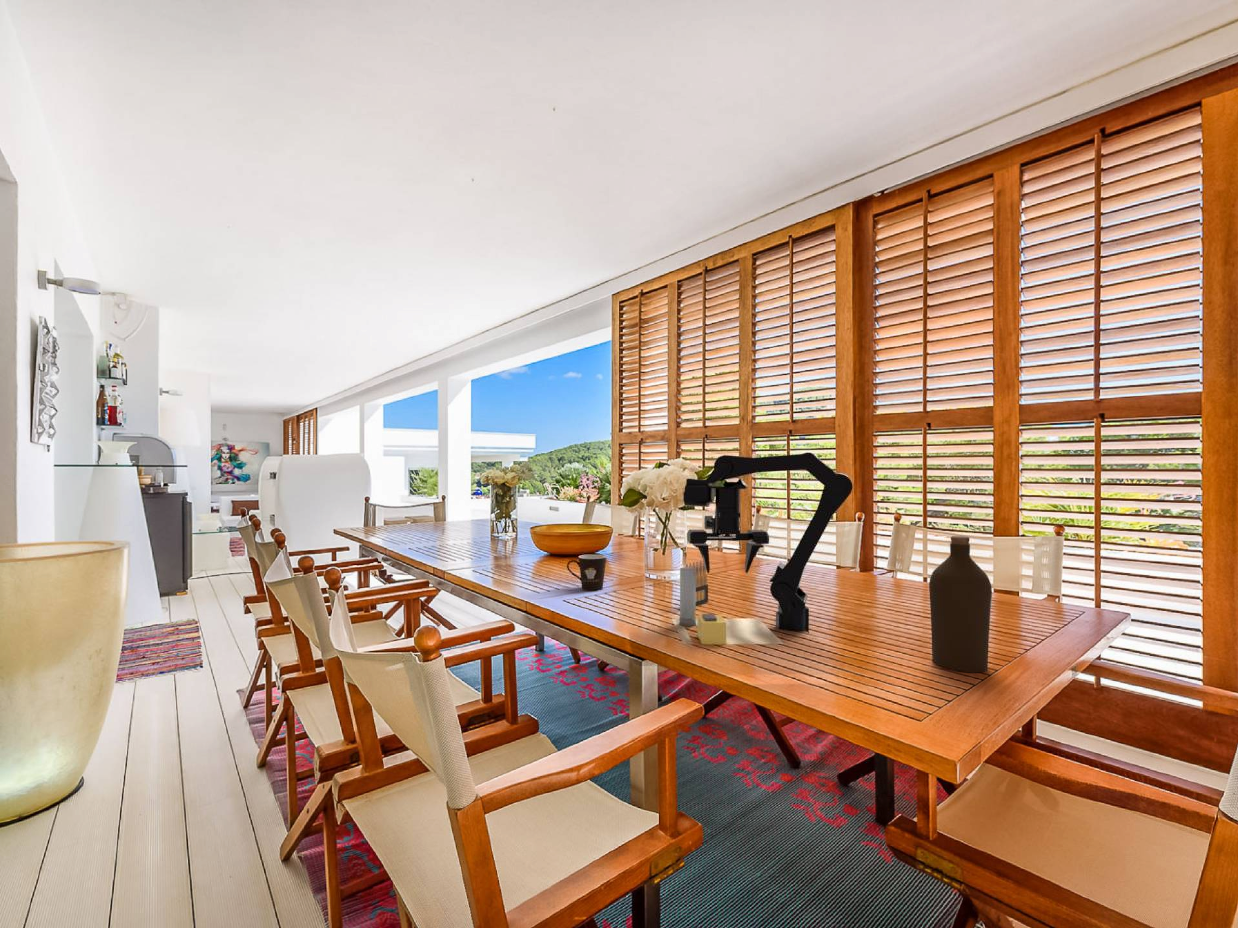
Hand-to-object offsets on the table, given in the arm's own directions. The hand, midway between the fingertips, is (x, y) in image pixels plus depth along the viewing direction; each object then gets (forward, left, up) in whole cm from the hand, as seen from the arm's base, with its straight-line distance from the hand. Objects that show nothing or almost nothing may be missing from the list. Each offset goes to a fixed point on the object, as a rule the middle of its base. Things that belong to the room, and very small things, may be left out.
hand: (727, 572), depth 141 cm
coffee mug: (+34, -44, -13) cm, 57 cm away
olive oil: (-40, +27, -13) cm, 50 cm away
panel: (+2, +8, -13) cm, 15 cm away
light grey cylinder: (+10, +3, -12) cm, 15 cm away
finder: (+7, +15, -12) cm, 20 cm away
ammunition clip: (+4, -22, -13) cm, 26 cm away
